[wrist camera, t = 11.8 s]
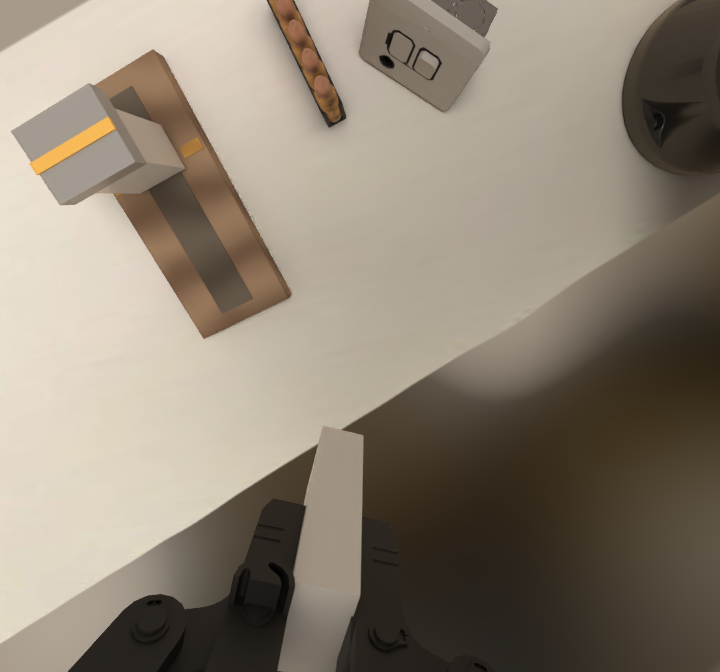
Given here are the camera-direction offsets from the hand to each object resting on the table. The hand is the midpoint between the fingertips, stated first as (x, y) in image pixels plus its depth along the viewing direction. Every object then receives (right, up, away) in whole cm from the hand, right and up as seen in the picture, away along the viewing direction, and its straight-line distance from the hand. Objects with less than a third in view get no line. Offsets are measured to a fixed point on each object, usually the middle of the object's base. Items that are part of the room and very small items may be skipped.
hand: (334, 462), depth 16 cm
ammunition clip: (-4, +29, +23) cm, 37 cm away
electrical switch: (+6, +30, +23) cm, 38 cm away
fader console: (-16, +17, +27) cm, 36 cm away
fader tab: (-18, +20, +23) cm, 36 cm away
